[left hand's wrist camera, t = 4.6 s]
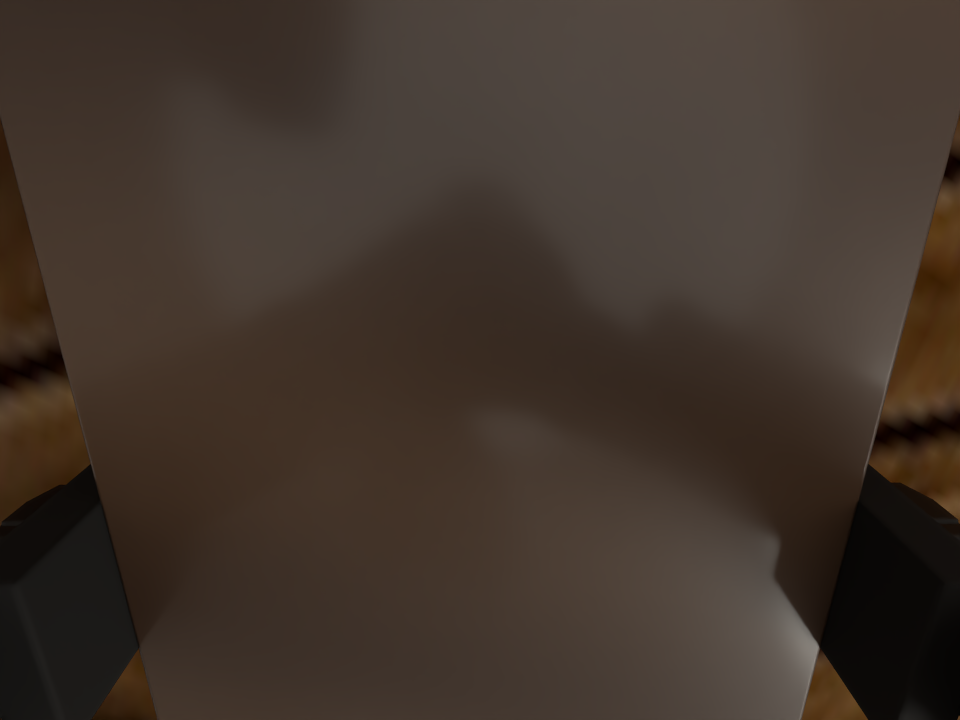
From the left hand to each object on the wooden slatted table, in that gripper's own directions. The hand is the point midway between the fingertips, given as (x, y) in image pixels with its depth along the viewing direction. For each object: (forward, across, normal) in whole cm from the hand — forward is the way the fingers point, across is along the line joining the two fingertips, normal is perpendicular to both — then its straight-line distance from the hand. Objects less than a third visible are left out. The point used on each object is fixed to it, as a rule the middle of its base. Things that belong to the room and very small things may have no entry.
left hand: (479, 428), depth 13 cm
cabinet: (+6, 0, -7) cm, 9 cm away
